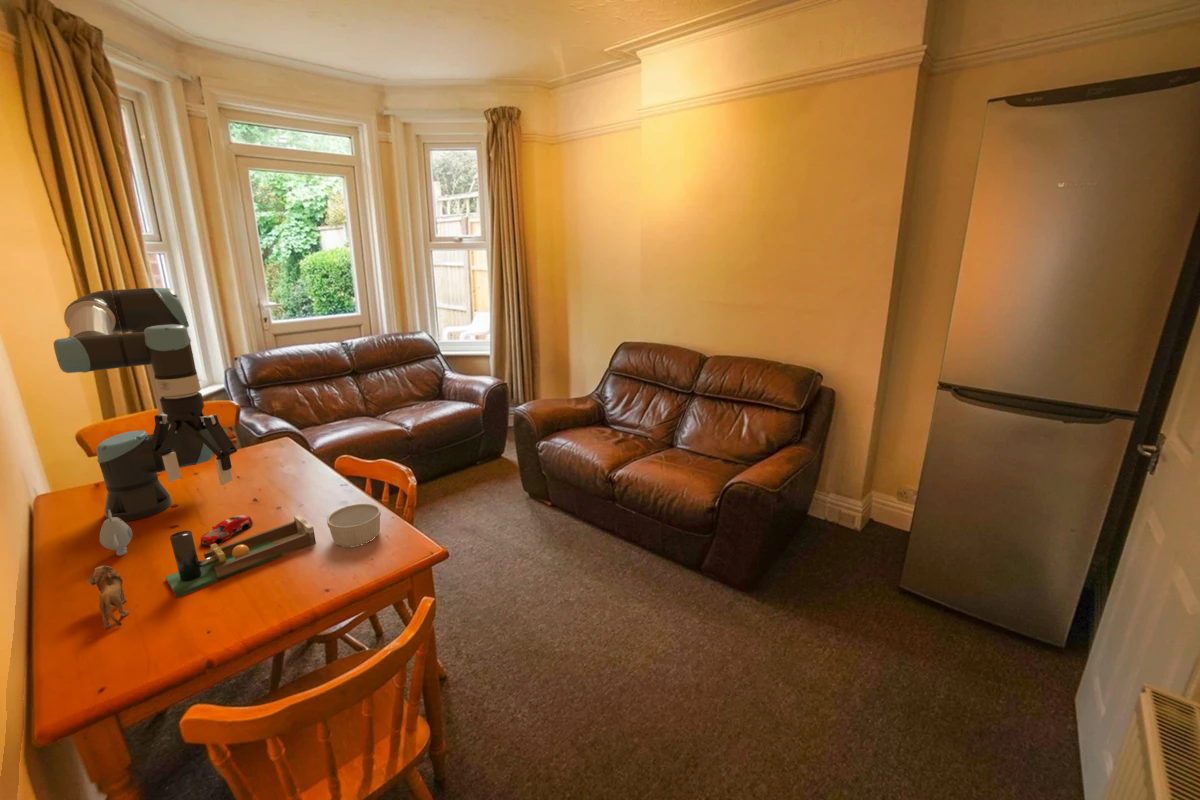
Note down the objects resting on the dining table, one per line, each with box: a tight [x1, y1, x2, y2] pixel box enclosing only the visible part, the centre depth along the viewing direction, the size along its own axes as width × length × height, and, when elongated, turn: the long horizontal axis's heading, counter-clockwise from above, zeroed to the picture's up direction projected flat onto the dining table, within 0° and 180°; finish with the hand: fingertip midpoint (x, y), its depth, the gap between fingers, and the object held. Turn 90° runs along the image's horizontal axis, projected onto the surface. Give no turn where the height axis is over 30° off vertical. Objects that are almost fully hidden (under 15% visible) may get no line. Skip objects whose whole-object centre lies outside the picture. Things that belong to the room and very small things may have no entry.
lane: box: [165, 514, 317, 598], centre depth 133 cm, size 10×30×5 cm, turn 139°
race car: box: [200, 514, 254, 547], centre depth 145 cm, size 13×5×4 cm, turn 160°
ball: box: [232, 545, 249, 559], centre depth 133 cm, size 4×4×4 cm
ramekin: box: [326, 503, 382, 548], centre depth 144 cm, size 13×13×7 cm
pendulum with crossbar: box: [169, 530, 227, 581], centre depth 126 cm, size 7×9×11 cm
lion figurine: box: [85, 565, 130, 629], centre depth 114 cm, size 15×5×9 cm, turn 50°
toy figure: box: [99, 510, 133, 557], centre depth 135 cm, size 11×6×12 cm, turn 41°
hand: (200, 481), depth 125 cm, fingers open, 13 cm apart
